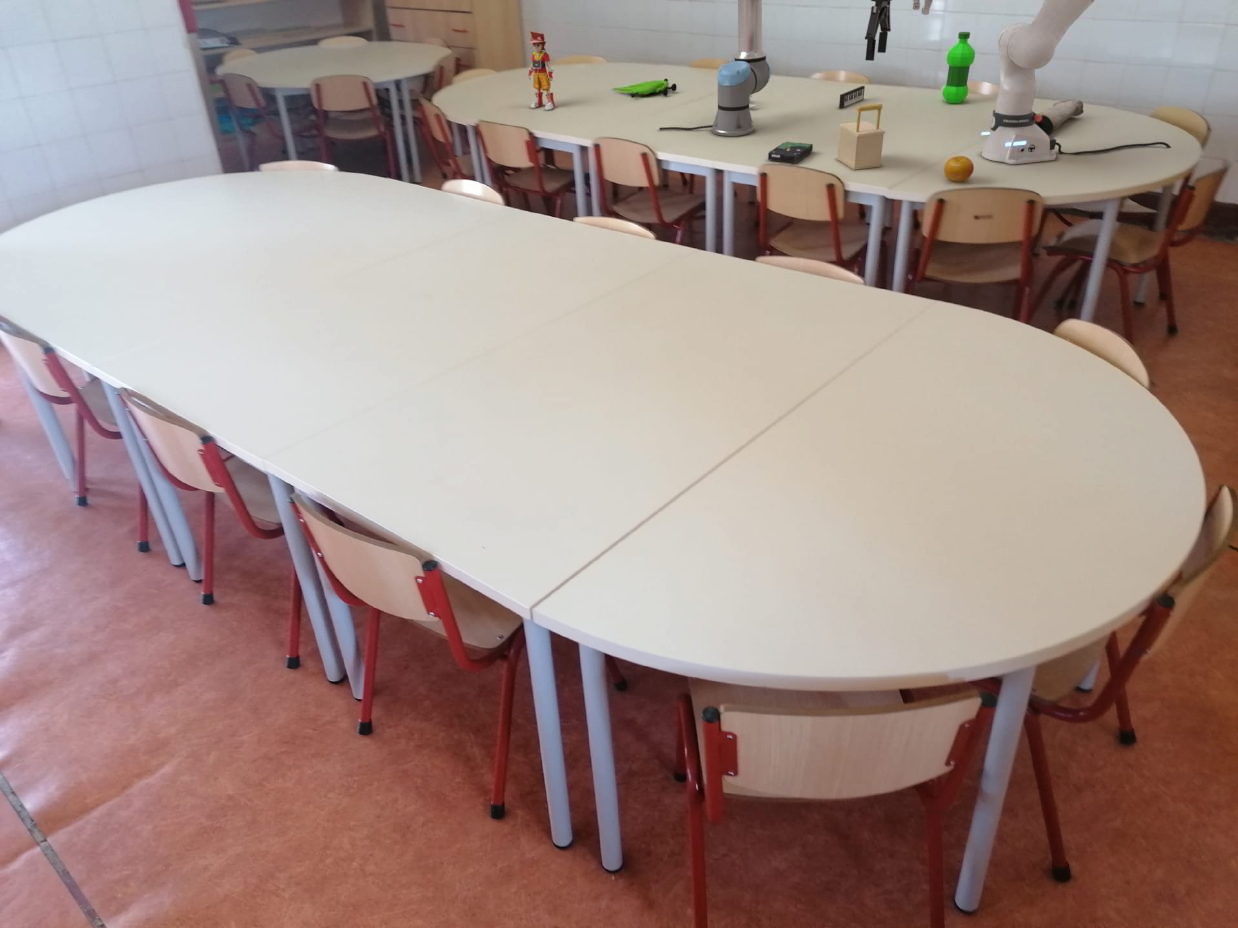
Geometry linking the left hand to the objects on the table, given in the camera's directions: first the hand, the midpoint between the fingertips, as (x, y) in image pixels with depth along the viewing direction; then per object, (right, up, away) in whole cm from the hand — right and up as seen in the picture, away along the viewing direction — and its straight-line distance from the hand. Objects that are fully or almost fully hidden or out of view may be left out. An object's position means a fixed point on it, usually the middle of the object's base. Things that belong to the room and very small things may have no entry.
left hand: (875, 56), depth 309 cm
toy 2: (-79, +24, +88) cm, 121 cm away
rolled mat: (+67, -19, +12) cm, 71 cm away
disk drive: (-30, -35, -2) cm, 46 cm away
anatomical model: (-39, +6, +58) cm, 70 cm away
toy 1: (-121, +12, +74) cm, 143 cm away
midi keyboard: (+5, +5, +52) cm, 53 cm away
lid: (-9, -32, -18) cm, 38 cm away
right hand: (+3, -4, -38) cm, 38 cm away
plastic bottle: (+44, +3, +46) cm, 64 cm away
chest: (-9, -40, -11) cm, 43 cm away
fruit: (+16, -53, -31) cm, 64 cm away
